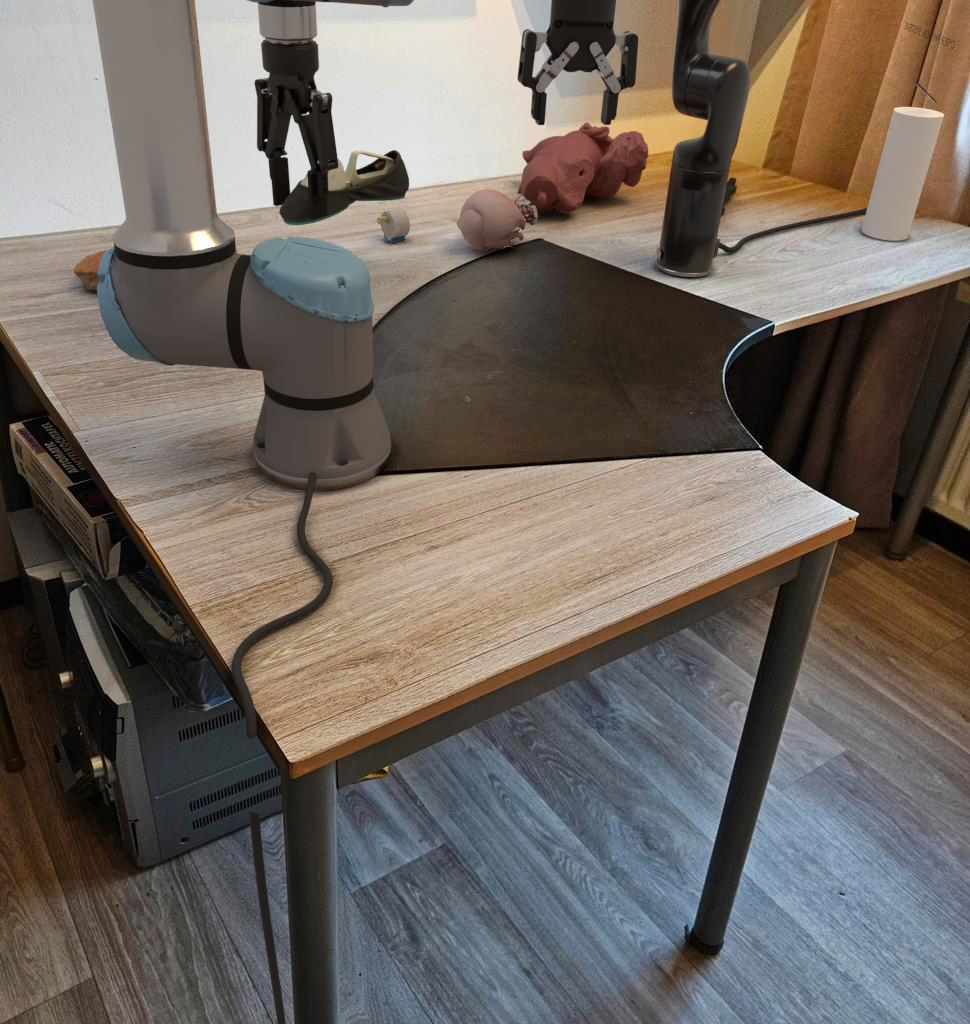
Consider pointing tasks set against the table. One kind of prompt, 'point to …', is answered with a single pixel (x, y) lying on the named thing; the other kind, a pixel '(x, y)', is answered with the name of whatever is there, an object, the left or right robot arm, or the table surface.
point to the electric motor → (394, 225)
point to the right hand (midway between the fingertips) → (572, 123)
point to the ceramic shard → (89, 270)
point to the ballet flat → (351, 187)
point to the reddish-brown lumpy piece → (581, 167)
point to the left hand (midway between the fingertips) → (300, 210)
